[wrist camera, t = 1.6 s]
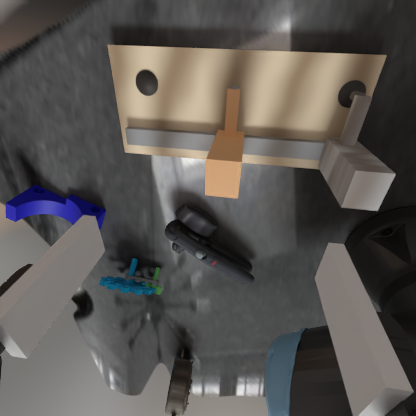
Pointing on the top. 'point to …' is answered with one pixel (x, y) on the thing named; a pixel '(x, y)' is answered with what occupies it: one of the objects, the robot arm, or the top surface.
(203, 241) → the can opener
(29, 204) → the cable clip
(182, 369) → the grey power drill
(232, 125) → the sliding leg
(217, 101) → the plate
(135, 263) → the gear
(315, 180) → the top surface
